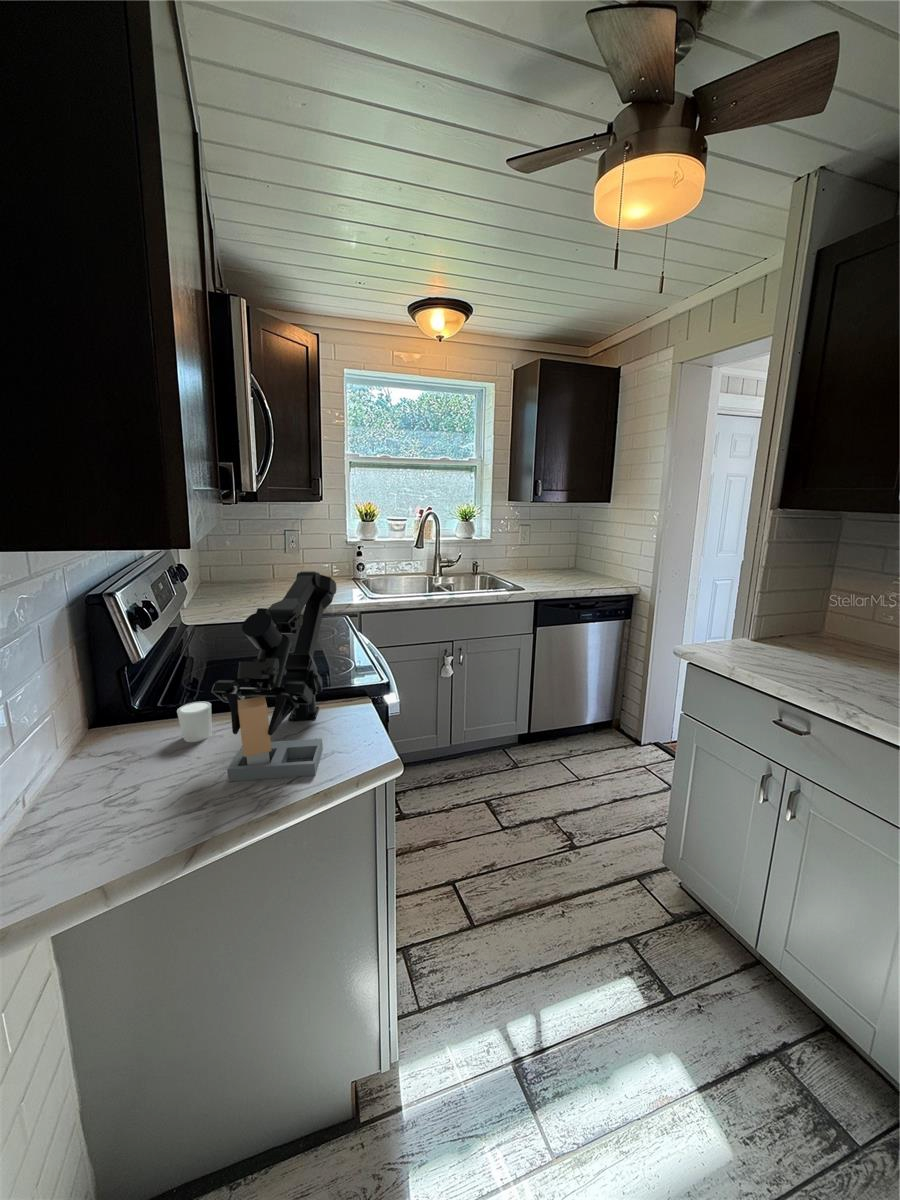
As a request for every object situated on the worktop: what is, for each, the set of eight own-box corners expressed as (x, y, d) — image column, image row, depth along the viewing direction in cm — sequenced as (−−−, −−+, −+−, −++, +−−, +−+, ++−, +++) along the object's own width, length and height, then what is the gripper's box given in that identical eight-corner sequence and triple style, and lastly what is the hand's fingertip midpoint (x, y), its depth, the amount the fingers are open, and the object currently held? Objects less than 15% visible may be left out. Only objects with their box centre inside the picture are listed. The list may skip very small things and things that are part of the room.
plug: (244, 761, 97) (237, 700, 94) (271, 755, 99) (265, 695, 96) (245, 773, 92) (238, 710, 89) (273, 767, 94) (267, 705, 91)
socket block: (244, 754, 101) (243, 743, 100) (322, 749, 102) (322, 738, 102) (228, 781, 91) (227, 769, 91) (315, 775, 93) (314, 763, 92)
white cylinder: (200, 744, 105) (196, 714, 104) (173, 742, 106) (169, 712, 105) (221, 730, 112) (218, 702, 110) (195, 727, 113) (191, 699, 112)
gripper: (210, 641, 95) (183, 718, 87) (303, 642, 94) (284, 721, 85) (235, 666, 104) (212, 738, 96) (319, 667, 103) (304, 740, 94)
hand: (251, 734), depth 93 cm, fingers closed on plug, 7 cm apart
